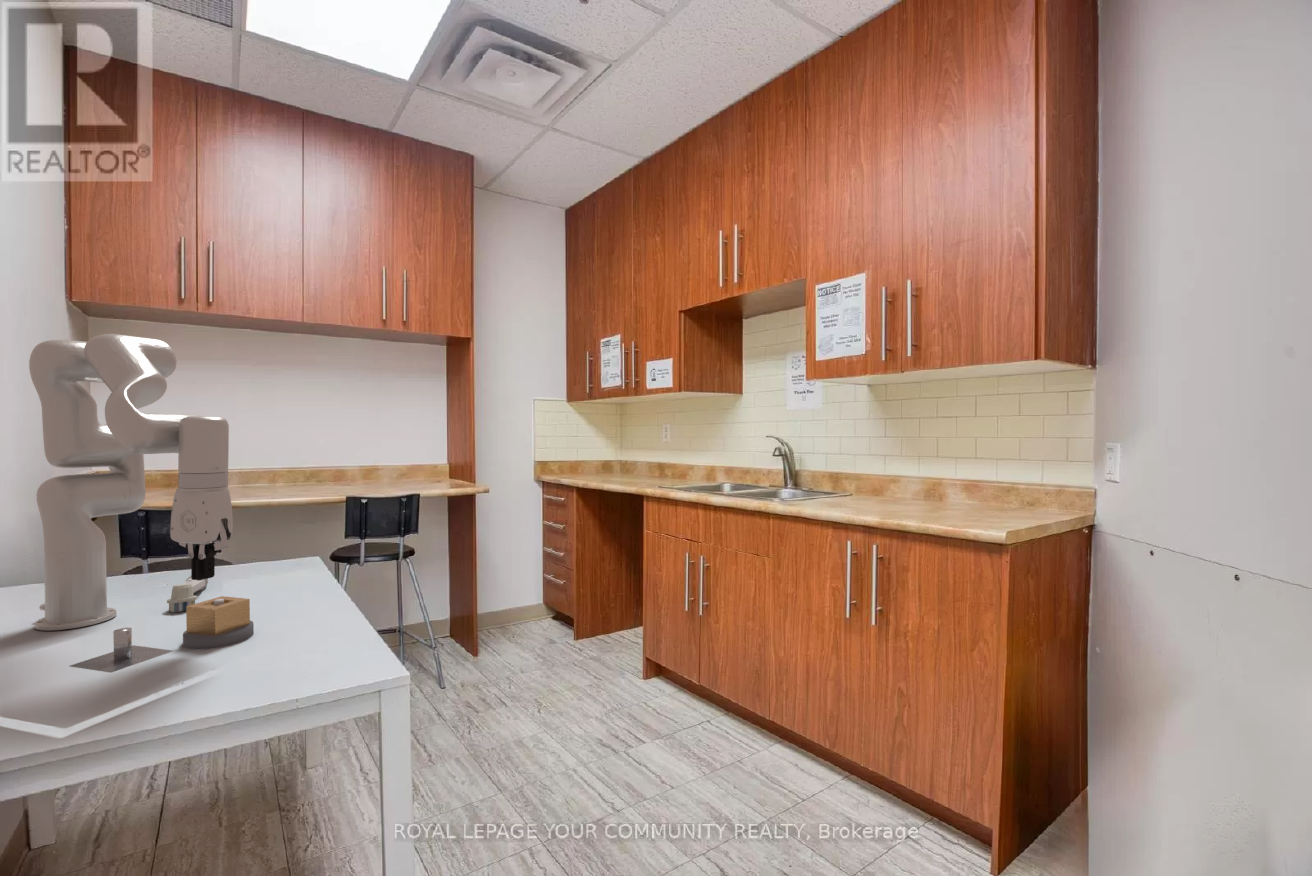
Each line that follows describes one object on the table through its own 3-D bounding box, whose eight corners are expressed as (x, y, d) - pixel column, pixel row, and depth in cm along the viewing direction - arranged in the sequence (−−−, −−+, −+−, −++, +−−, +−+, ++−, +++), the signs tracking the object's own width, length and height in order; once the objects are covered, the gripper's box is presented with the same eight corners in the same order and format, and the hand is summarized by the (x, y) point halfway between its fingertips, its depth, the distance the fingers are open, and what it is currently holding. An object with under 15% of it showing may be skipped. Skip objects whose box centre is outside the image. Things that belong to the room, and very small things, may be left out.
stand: (68, 671, 102) (68, 636, 102) (133, 650, 111) (133, 618, 111) (111, 678, 99) (110, 642, 99) (173, 656, 109) (173, 623, 109)
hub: (168, 651, 111) (167, 605, 111) (224, 631, 122) (224, 590, 122) (213, 657, 108) (212, 610, 108) (267, 636, 119) (266, 594, 119)
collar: (186, 632, 113) (186, 606, 112) (222, 621, 119) (221, 596, 119) (215, 636, 111) (215, 609, 111) (249, 624, 118) (249, 598, 117)
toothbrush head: (211, 571, 157) (194, 579, 136) (211, 597, 156) (193, 609, 135) (186, 574, 155) (165, 582, 133) (186, 600, 154) (164, 613, 132)
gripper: (152, 481, 110) (152, 579, 111) (215, 485, 107) (214, 587, 107) (193, 478, 118) (192, 570, 118) (253, 482, 114) (252, 577, 114)
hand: (203, 578), depth 113 cm, fingers closed
